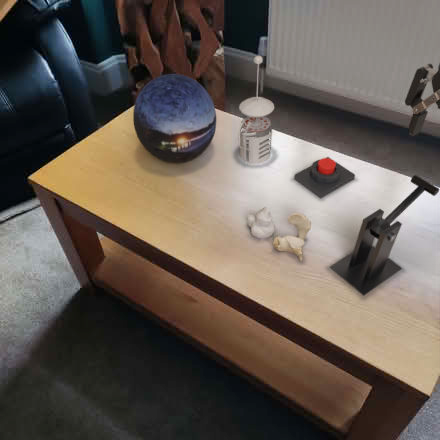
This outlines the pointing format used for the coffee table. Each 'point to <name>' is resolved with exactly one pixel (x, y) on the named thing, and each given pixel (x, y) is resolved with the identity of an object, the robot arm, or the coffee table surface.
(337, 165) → the control block
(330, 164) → the button
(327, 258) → the coffee table surface
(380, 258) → the bracket
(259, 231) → the white lumpy piece
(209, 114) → the decorative sphere
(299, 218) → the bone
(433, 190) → the lever
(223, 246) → the coffee table surface
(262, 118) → the french press
